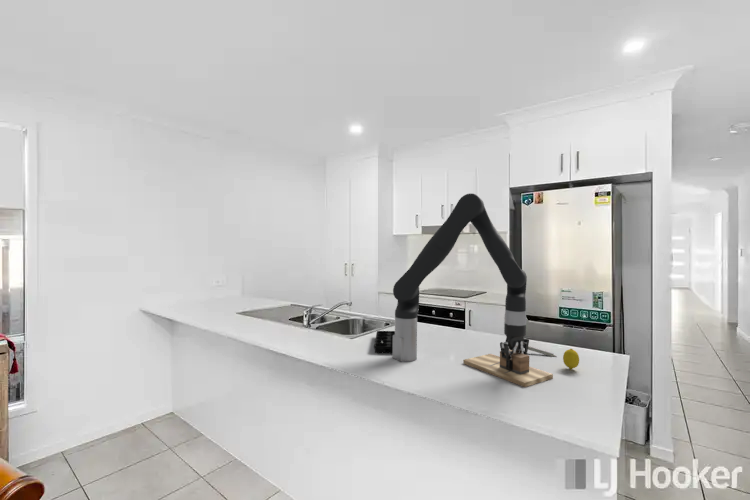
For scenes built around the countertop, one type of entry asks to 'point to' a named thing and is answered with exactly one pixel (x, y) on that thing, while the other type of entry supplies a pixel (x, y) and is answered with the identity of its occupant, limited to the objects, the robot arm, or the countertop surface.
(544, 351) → the caliper
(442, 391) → the countertop surface
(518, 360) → the block
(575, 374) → the countertop surface
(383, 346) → the egg carton
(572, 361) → the lemon
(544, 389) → the countertop surface
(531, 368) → the plywood board
